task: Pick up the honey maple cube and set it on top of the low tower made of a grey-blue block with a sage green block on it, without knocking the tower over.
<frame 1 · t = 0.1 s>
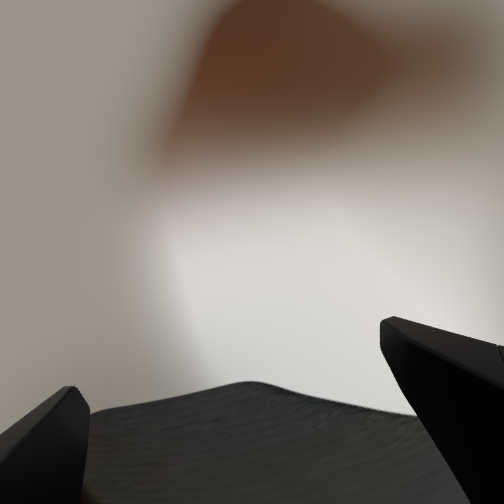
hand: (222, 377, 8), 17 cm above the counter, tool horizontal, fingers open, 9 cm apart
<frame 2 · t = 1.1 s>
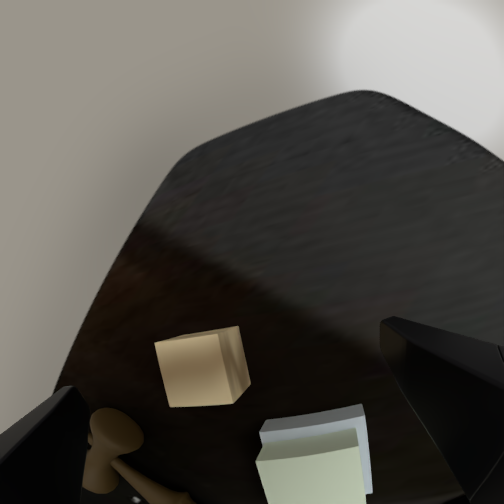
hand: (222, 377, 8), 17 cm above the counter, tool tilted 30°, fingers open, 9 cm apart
maple cube: (216, 359, 25), on the counter
kendama: (146, 464, 26), on the counter
sage block: (317, 471, 19), point 2 cm above the counter, touching base block
base block: (320, 449, 22), on the counter, touching sage block
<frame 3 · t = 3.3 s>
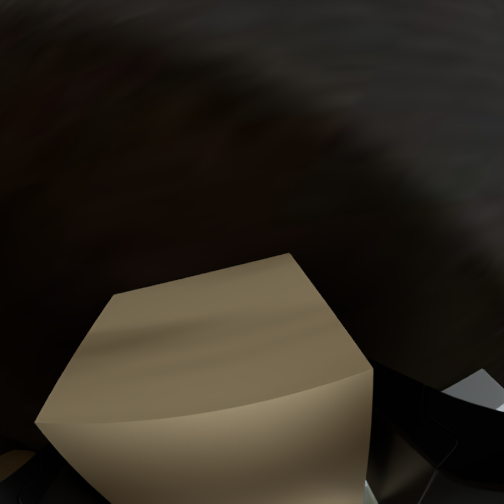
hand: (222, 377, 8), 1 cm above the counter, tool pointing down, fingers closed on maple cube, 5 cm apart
maple cube: (221, 351, 9), on the counter, touching gripper
base block: (404, 444, 12), on the counter, touching sage block
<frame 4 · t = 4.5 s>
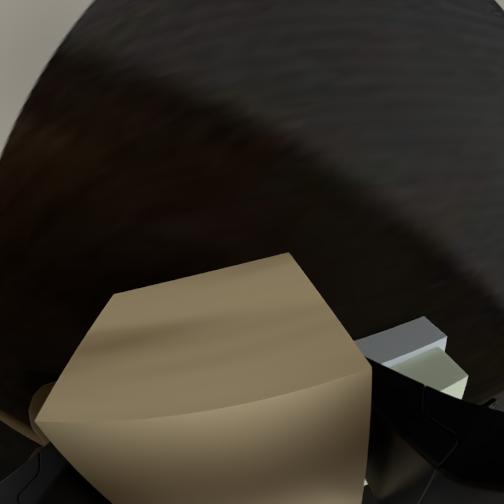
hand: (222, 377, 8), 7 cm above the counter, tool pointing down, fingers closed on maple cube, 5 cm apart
maple cube: (221, 350, 9), point 6 cm above the counter, touching gripper
kendama: (124, 440, 18), on the counter
sage block: (384, 409, 15), point 3 cm above the counter, touching base block
base block: (366, 380, 18), on the counter, touching sage block
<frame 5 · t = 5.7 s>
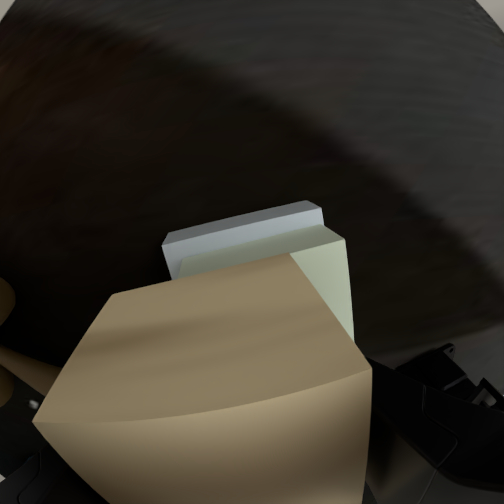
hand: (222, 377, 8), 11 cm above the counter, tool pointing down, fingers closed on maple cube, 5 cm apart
maple cube: (220, 350, 9), point 9 cm above the counter, touching gripper
kendama: (34, 342, 18), on the counter
sage block: (267, 303, 16), point 3 cm above the counter
base block: (251, 277, 19), on the counter
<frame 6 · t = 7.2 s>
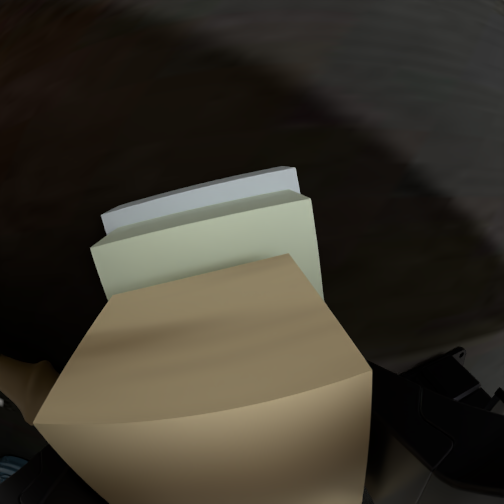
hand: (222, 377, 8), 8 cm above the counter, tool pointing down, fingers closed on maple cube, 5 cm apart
maple cube: (220, 351, 9), point 7 cm above the counter, touching gripper
canister: (47, 486, 21), on the counter
sage block: (220, 289, 13), point 2 cm above the counter
base block: (217, 261, 16), on the counter
when the fingers open (8 cm above the counter, at t = 7.4 s): maple cube drops 1 cm, resting on sage block.
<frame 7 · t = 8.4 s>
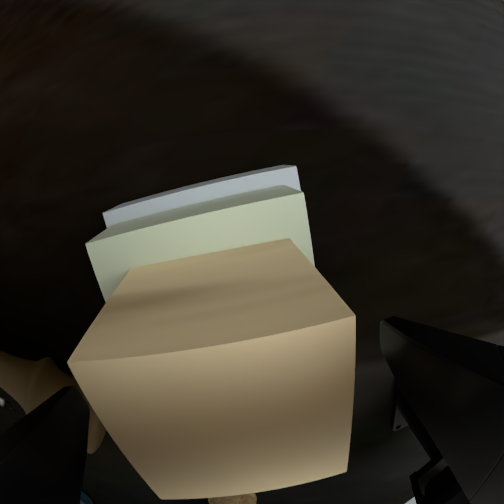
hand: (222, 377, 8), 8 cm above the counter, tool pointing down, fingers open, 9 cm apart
maple cube: (224, 324, 10), point 5 cm above the counter, touching sage block
sprinkles bottle: (232, 494, 22), on the counter
sage block: (215, 285, 13), point 2 cm above the counter, touching base block, maple cube
base block: (218, 259, 16), on the counter, touching sage block
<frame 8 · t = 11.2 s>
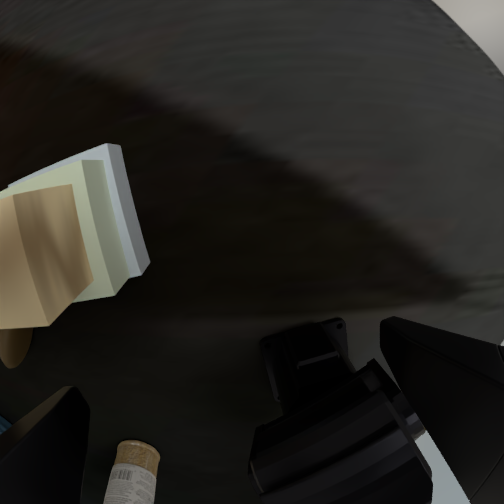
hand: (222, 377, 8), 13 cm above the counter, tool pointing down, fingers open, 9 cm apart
maple cube: (44, 241, 14), point 5 cm above the counter, touching sage block
sprinkles bottle: (139, 449, 25), on the counter
sage block: (66, 231, 16), point 2 cm above the counter, touching base block, maple cube
base block: (85, 218, 19), on the counter, touching sage block
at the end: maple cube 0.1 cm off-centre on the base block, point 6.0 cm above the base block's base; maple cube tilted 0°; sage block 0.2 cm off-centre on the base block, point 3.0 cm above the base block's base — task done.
